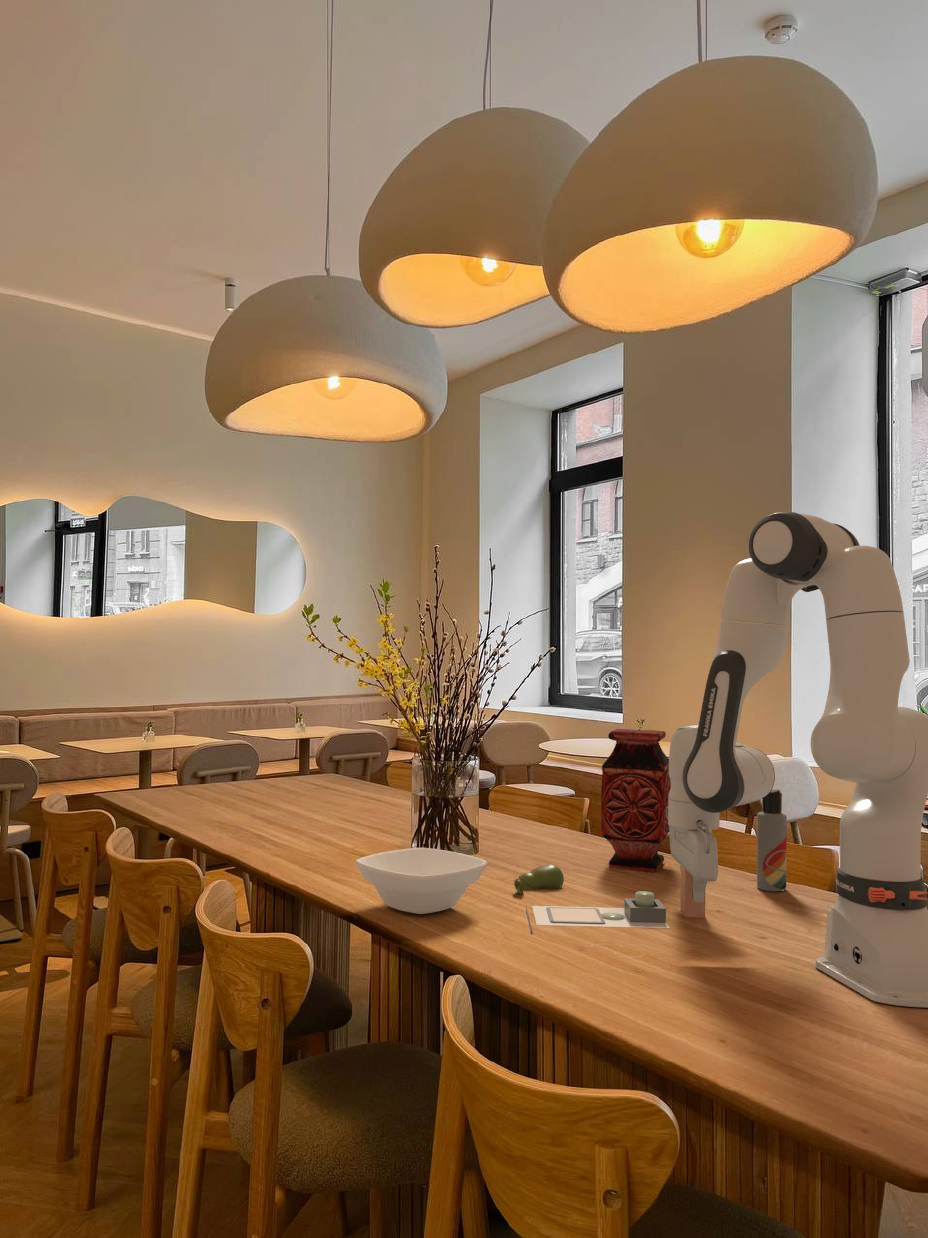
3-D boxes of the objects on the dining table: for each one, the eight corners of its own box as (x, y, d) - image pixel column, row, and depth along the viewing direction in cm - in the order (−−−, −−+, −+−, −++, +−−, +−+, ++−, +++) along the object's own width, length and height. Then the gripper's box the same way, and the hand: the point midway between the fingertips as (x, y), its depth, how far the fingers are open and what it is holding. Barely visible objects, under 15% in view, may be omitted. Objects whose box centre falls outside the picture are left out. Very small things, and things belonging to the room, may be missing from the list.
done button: (655, 910, 156) (656, 896, 156) (637, 909, 156) (637, 895, 156) (652, 905, 159) (652, 891, 159) (633, 904, 159) (633, 890, 159)
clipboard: (676, 937, 150) (676, 928, 150) (531, 933, 150) (531, 925, 150) (659, 914, 164) (659, 906, 164) (525, 910, 164) (526, 902, 164)
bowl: (501, 909, 165) (502, 861, 166) (421, 932, 150) (422, 879, 150) (420, 888, 179) (421, 844, 179) (339, 908, 164) (340, 859, 164)
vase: (599, 868, 200) (601, 731, 201) (610, 856, 213) (612, 727, 214) (664, 874, 195) (665, 734, 197) (671, 862, 208) (672, 730, 210)
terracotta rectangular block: (705, 924, 158) (705, 857, 159) (685, 923, 158) (685, 856, 159) (700, 918, 162) (700, 853, 162) (680, 918, 162) (680, 852, 162)
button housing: (665, 922, 154) (665, 908, 154) (630, 921, 154) (630, 907, 154) (658, 913, 160) (658, 899, 160) (624, 912, 160) (624, 898, 160)
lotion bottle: (788, 893, 181) (788, 792, 182) (758, 891, 183) (759, 790, 184) (784, 886, 187) (784, 788, 188) (755, 884, 188) (755, 787, 189)
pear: (566, 865, 177) (520, 877, 174) (570, 892, 177) (523, 904, 174) (553, 859, 182) (508, 870, 179) (557, 885, 183) (512, 897, 179)
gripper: (728, 827, 151) (727, 912, 150) (697, 807, 171) (696, 882, 170) (689, 826, 151) (688, 911, 150) (663, 806, 171) (662, 881, 170)
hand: (692, 895), depth 160 cm, fingers open, 6 cm apart
